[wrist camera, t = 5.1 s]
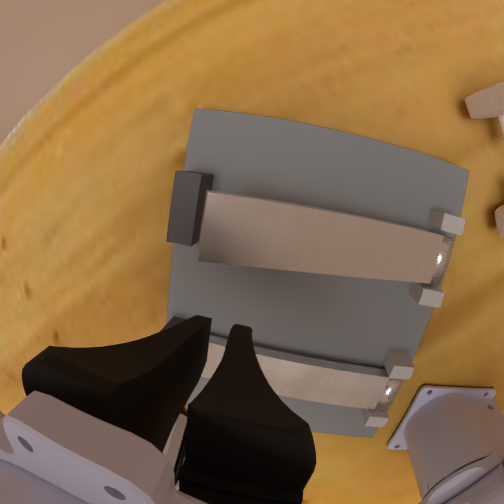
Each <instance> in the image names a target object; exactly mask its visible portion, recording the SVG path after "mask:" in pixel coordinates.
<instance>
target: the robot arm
mask: <svg viewBox="0 0 504 504" xmlns="http://www.w3.org/2000/svg"><path fill="white" fill-rule="evenodd" d="M211 323H212V318H209V317H205V316H200V315H195V316H193V317H191V318H189V319H187V320H185V321H183V322H181V323H179V324H177V325H175V326H172V327H170V328H168V329H166V330H163V331H161V332H158V333H156V334H153V335H151V336H148V337H145V338H142V339H139V340H135V341H131V342H127V343H123V344H116V345H110V346H104V347H91V348H69V347H54V346H49V347H47V348H46V349H45V350H43V351H42V352H41V353H39V354H38V355H37V356H36V357H34V358H33V359H32V360H30V361H29V362H28V363H27V364H25V366H24V368H23V369H22V381H23V387H24V390H25V393H26V396H27V397H26V398H25V399H23V400H22V401H21V402H20V403H19V404H18V405H17V406H16V407H15V408H14V409H12V410H11V411H10V412H9V413H8V414H7V415H4V414H3V413H2V412H0V504H301V503H302V500H303V490H304V488H305V486H306V484H307V483H308V481H309V479H310V477H311V475H312V474H313V472H314V469H315V465H316V451H315V445H314V441H313V436H312V433H311V429H310V426H309V424H308V423H307V422H306V421H305V420H303V419H302V418H301V417H299V416H298V415H297V414H296V413H294V412H293V411H292V410H291V409H290V408H289V407H288V406H287V405H286V404H285V403H284V402H283V401H282V400H281V399H280V398H279V397H278V395H277V394H276V393H275V392H274V390H273V389H272V387H271V386H270V384H269V383H268V381H267V379H266V377H265V375H264V373H263V371H262V369H261V367H260V364H259V362H258V359H257V356H256V353H255V349H254V345H253V340H252V332H253V330H252V328H251V327H249V326H244V325H240V324H234V325H233V326H232V328H231V329H230V333H229V336H228V340H227V344H226V347H225V351H224V354H223V357H222V360H221V361H220V363H219V365H218V367H217V369H216V370H215V372H214V374H213V375H212V377H211V378H210V380H209V381H208V383H207V384H206V385H205V387H204V388H203V389H202V391H201V392H200V393H199V394H198V395H197V396H196V397H195V398H194V399H193V401H192V402H190V403H189V404H188V412H187V428H186V446H185V460H184V462H183V465H182V467H181V469H180V472H179V474H178V480H179V491H178V490H176V489H175V473H174V471H173V469H172V467H171V464H170V462H169V460H168V458H167V457H166V456H165V455H164V454H163V450H164V448H165V445H166V443H167V440H168V438H169V436H170V433H171V431H172V429H173V426H174V424H175V422H176V420H177V418H178V417H179V415H180V413H181V411H182V410H183V408H184V406H185V405H186V403H187V401H188V399H189V398H190V396H191V394H192V392H193V391H194V389H195V387H196V385H197V384H198V382H199V380H200V377H201V375H202V372H203V370H204V367H205V365H206V362H207V355H208V347H209V339H210V331H211ZM429 390H430V391H429ZM428 391H429V392H428ZM495 395H496V390H495V389H494V388H465V387H445V386H430V385H424V386H422V387H421V388H420V389H419V391H418V393H417V395H416V397H415V398H414V400H413V402H412V404H411V406H410V408H409V409H408V411H407V413H406V415H405V416H404V418H403V420H402V422H401V423H400V425H399V427H398V428H397V430H396V431H395V433H394V435H393V436H392V438H391V440H390V441H389V443H388V444H387V446H388V449H391V450H408V452H409V455H410V459H411V462H412V466H413V469H414V473H415V477H416V480H417V484H418V488H419V492H420V496H421V500H422V502H420V503H419V504H504V415H503V413H502V412H501V410H500V409H499V407H498V406H497V404H496V403H495V402H494V400H493V398H494V396H495Z"/></svg>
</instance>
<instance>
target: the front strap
mask: <svg viewBox="0 0 504 504" xmlns="http://www.w3.org/2000/svg"><path fill="white" fill-rule="evenodd" d="M452 242H453V237H450V236H448V235H445V234H442V233H438V232H433V231H429V230H424V229H420V228H416V227H411V226H407V225H402V224H398V223H393V222H389V221H384V220H379V219H374V218H369V217H365V216H360V215H355V214H350V213H344V212H339V211H334V210H329V209H323V208H318V207H312V206H307V205H301V204H296V203H290V202H284V201H278V200H272V199H266V198H259V197H253V196H247V195H240V194H233V193H227V192H220V191H212V190H206V196H205V203H204V209H203V216H202V223H201V230H200V237H199V244H198V251H197V257H198V261H203V262H212V263H221V264H230V265H240V266H249V267H259V268H269V269H278V270H288V271H298V272H308V273H319V274H329V275H339V276H350V277H361V278H372V279H383V280H394V281H405V282H417V283H429V284H433V285H440V283H441V280H442V277H443V274H444V271H445V267H446V264H447V260H448V257H449V253H450V250H451V246H452Z"/></svg>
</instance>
